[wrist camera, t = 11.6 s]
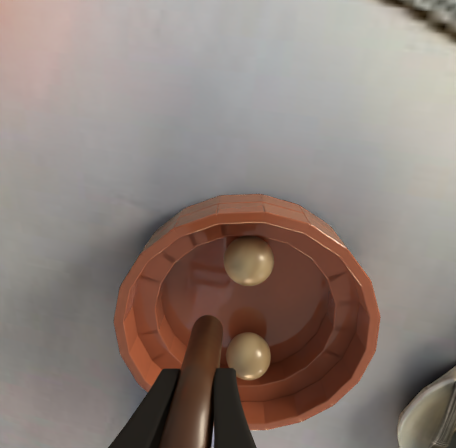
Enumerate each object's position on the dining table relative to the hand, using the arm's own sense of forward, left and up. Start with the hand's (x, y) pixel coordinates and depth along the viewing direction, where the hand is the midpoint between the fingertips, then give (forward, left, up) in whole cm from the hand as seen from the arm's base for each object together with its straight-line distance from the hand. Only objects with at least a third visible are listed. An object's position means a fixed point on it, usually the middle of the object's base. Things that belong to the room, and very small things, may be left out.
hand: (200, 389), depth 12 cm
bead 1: (+1, -2, -8) cm, 9 cm away
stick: (0, 0, -4) cm, 4 cm away
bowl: (-3, -2, -10) cm, 11 cm away
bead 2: (-6, -2, -8) cm, 11 cm away
